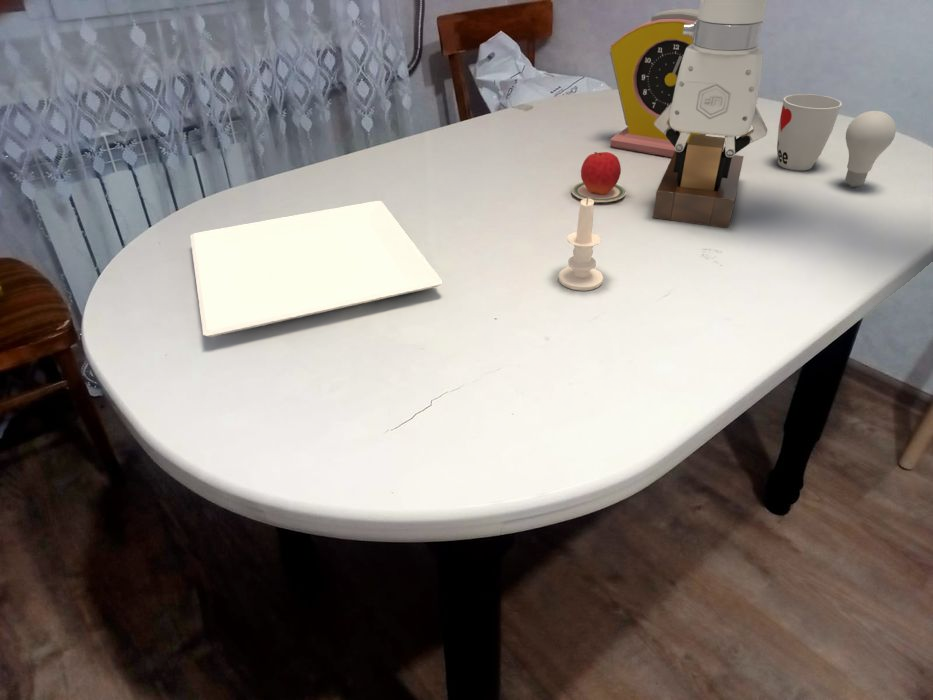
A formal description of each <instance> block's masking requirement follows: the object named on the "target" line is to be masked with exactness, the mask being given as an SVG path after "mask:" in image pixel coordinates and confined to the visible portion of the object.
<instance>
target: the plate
mask: <svg viewBox="0 0 933 700" xmlns="http://www.w3.org/2000/svg"><path fill="white" fill-rule="evenodd" d="M189 237H190V244H191V253H192V261H193V267H194V277H195V282H196V290H197V291H196V292H197V298H198V306H199V313H200V321H201V329H202V336H206V337H210V338H213V337H217V336H222V335H226V334H231V333H236V332H239V331H245V330H248V329H253V328H258V327H263V326H266V325H271V324H276V323H280V322H284V321H290V320H294V319H299V318H303V317H307V316H311V315H312V316H313V315H317V314H321V313H325V312H329V311H334V310H339V309H343V308H348V307H352V306H357V305H363V304H366V303H370V302H375V301H380V300H384V299H387V298H388V299H389V298H392V297H397V296H402V295H406V294H410V293H415V292H419V291H424V290H430V289H433V288H437V287H439V286H441V285H442V284H443V283H444V281H443V280H442V279H441V277H440V275H439V274H437V272H436V271H435V270H434V268H433V267H432V265H431V264H430V263H429V262H428V260H427V259H426V258H425V256H424V255H423V253H422V252H421V251H420V250H419V248H418V247H417V246H416V244H415V243H414V241H412V239H411V238H410V236H409V235H408V234H407V233H406V231H405V230H404V229H403V227H402V226H401V225H400V223H399V222H398V221H397V219H396V218H395V217H394V216H393V214H392V213H391V211H390V210H389V208H388V207H387V206H386V205H385V204H384V202H383V201H382V200H374V201H367V202H363V203H357V204H356V203H355V204H351V205H344V206H340V207H339V206H338V207H334V208H328V209H322V210H317V211H311V212H306V213H301V214H295V215H289V216H282V217H278V218H272V219H266V220H259V221H255V222H249V223H243V224H238V225H233V226H226V227H221V228H220V227H219V228H216V229H209V230H204V231H199V232H194V233H192V234H190V235H189Z"/></svg>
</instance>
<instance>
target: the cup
mask: <svg viewBox="0 0 933 700" xmlns="http://www.w3.org/2000/svg"><path fill="white" fill-rule="evenodd" d="M782 101H783V102H782V105H781V112H780V117H779V122H778V131H777V143H776V151H777V153H776V154H777V164H778V166H780V167H781V168H783V169H787V170H791V171H808V170H810V169H812V168H813V166H814V165H815V164H816V162H817V160H818V159H819V157H820V156H821V155H822V153H823V151H824V148H825V146H826V144H827V142H828V141H829V138H830V136H831V134H832V132H833V129H834V127H835V124H836V121H837V118H838V116H839V113H840V111H841V108H842V105H843V102H842V101H841V100H840V99H837V98H834V97H831V96H826V95H821V94H810V93H797V94H790V95H786V96H785V97H783V100H782Z"/></svg>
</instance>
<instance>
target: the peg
mask: <svg viewBox="0 0 933 700" xmlns="http://www.w3.org/2000/svg"><path fill="white" fill-rule="evenodd" d="M724 147H725V137H724V136H722V137H721V136H713V135H706V136H702V135H691V138H690V140H689V143H688V145H687V151H686V157H685V162H684V168H683V174H682V179H681V185H680V187H686V188H694V189H703V190H711V191H715V186H716V184H715V183H716V178H717V173H718V168H719V163H720V158H721V155H722V151H724Z"/></svg>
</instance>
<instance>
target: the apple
mask: <svg viewBox="0 0 933 700" xmlns="http://www.w3.org/2000/svg"><path fill="white" fill-rule="evenodd" d="M621 173H622V167H621V163H620V160H619V157H617V156H616V155H615V154H614V153H612V152H608V151H603V152H597V151H594V152H593V153H590V154H589V155H588V156H586V158H585V159H584V161H583V163H582V165H581V168H580V178H581V180H582V182H579V183H576V184H575V185H573V186H572V187H571V193H572V195H573V196H574V197H576V198H578V199H580V200H583V199H586V198H587V197H588V198H590V199H592V200H593V201H594V203H610V202H615V201H618V200H621V199H623V198H624V197H625V196H626V194H627V190H626V189H625V187H623V186H622V185H620V184H619V183H618V182H619V180H620V177H621Z"/></svg>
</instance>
